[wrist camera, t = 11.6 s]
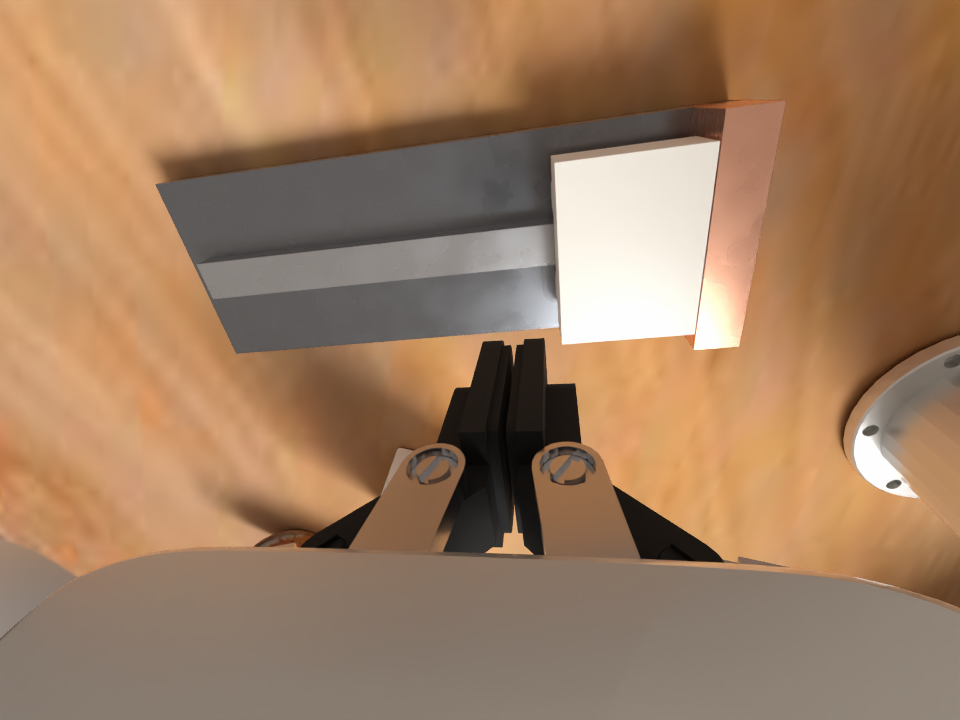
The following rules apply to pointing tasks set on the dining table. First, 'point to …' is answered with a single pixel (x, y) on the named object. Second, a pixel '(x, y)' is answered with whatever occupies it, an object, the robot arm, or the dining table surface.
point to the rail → (448, 232)
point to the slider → (631, 238)
